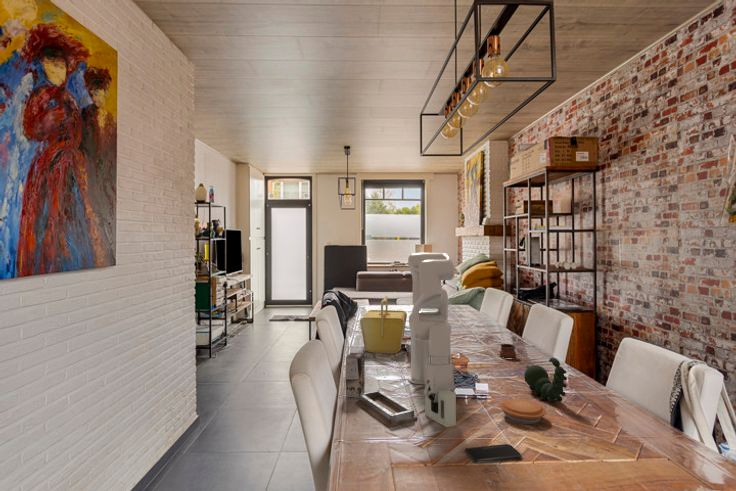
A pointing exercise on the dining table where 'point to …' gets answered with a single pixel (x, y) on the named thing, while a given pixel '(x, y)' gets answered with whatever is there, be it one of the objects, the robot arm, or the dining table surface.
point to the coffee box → (355, 374)
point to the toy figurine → (546, 381)
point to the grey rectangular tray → (385, 408)
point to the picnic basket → (383, 329)
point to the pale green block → (443, 408)
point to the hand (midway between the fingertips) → (439, 410)
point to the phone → (493, 453)
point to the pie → (522, 411)
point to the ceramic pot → (507, 351)
